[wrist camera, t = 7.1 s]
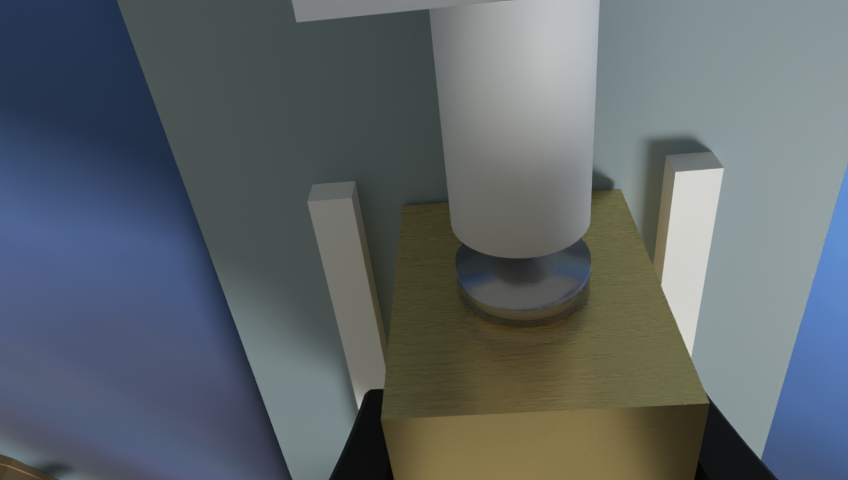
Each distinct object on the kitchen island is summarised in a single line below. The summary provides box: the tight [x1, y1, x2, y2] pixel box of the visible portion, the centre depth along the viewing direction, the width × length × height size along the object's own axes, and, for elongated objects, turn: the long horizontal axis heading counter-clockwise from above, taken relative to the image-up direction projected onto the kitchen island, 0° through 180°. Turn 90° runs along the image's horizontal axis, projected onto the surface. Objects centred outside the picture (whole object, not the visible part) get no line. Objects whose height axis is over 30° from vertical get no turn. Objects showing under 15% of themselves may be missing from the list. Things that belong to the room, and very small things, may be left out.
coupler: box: [381, 189, 710, 480], centre depth 12 cm, size 4×7×5 cm, turn 6°
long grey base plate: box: [117, 0, 848, 480], centre depth 13 cm, size 12×24×6 cm, turn 6°
